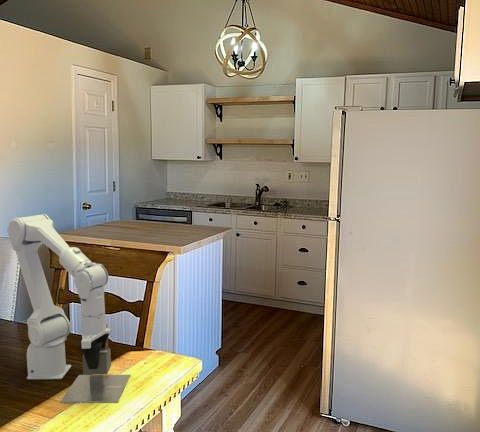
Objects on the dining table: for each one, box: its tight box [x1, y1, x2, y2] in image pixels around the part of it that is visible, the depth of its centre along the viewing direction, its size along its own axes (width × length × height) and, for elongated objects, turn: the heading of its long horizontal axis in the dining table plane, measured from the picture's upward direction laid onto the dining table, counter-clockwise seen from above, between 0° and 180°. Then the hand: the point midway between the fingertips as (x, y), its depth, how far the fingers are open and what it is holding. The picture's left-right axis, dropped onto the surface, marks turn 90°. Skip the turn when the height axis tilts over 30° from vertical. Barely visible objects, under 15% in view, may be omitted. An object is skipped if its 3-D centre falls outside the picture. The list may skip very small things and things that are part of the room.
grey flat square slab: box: [59, 374, 131, 404], centre depth 127 cm, size 14×14×3 cm
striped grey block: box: [81, 347, 112, 375], centre depth 126 cm, size 6×4×5 cm
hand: (96, 364), depth 126 cm, fingers closed on striped grey block, 4 cm apart
